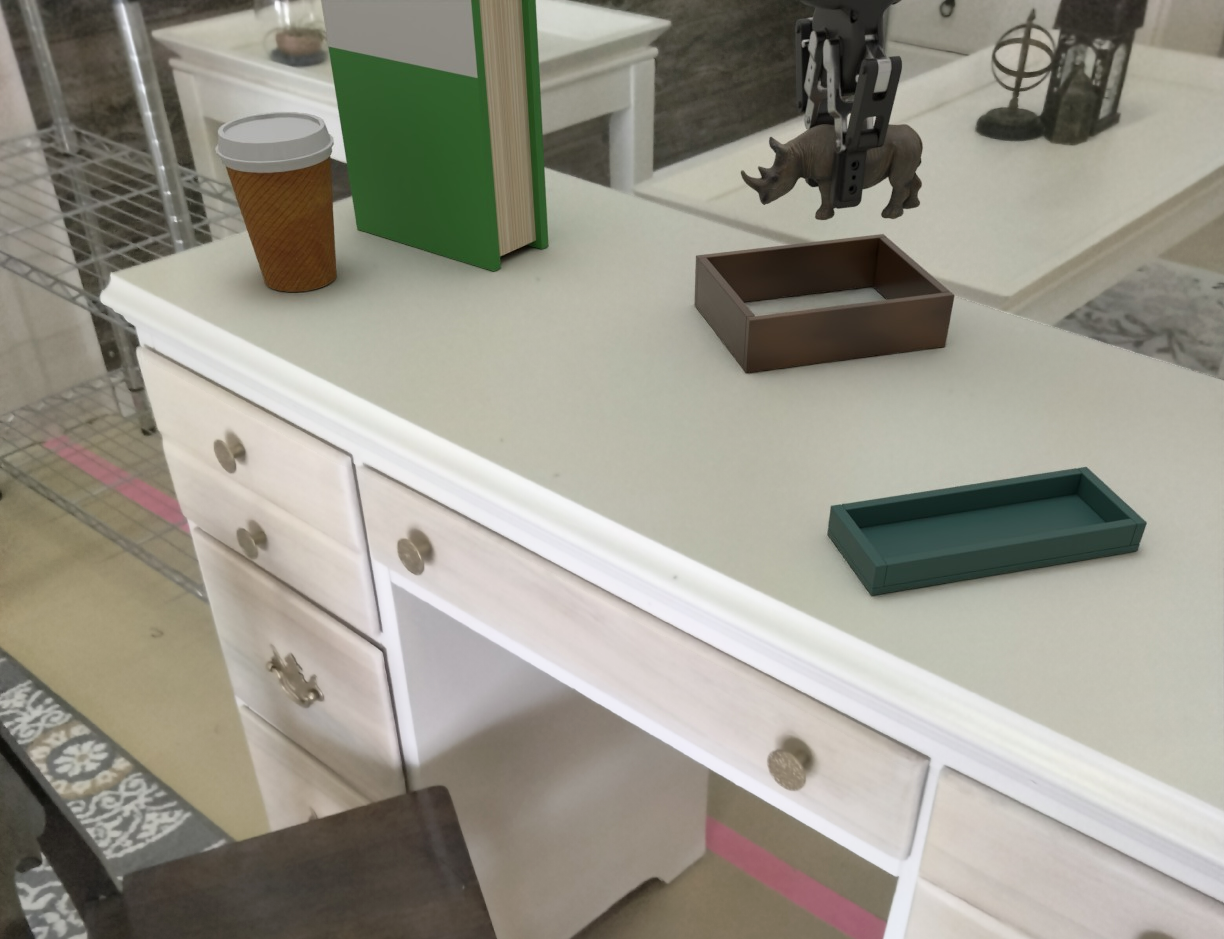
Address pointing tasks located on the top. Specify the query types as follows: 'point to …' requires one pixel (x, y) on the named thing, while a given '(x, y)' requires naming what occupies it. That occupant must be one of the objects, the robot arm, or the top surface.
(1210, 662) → the top surface
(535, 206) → the hardback book
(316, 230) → the disposable coffee cup
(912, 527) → the tray
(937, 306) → the open box
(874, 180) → the rhino figurine
